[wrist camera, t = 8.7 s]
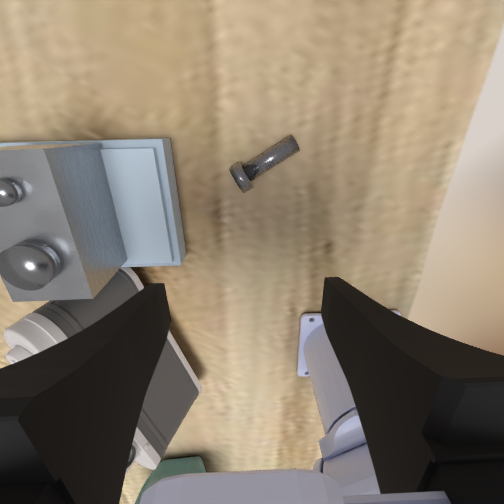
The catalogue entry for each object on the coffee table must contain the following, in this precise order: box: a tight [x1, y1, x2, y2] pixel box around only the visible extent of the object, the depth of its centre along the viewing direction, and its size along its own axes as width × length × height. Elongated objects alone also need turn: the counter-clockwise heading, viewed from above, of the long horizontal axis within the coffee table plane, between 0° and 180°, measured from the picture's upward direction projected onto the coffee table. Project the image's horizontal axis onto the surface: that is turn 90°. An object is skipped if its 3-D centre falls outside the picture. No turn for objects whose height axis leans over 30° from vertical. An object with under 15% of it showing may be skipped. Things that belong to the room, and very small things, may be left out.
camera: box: [4, 267, 202, 475], centre depth 22 cm, size 9×16×10 cm, turn 20°
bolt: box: [229, 135, 300, 193], centre depth 19 cm, size 5×2×2 cm, turn 121°
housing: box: [0, 143, 128, 302], centre depth 15 cm, size 4×8×6 cm, turn 1°
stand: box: [0, 138, 186, 267], centre depth 19 cm, size 12×9×2 cm
